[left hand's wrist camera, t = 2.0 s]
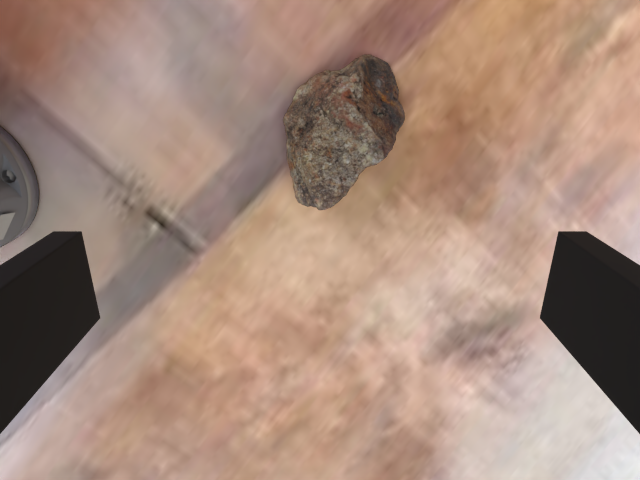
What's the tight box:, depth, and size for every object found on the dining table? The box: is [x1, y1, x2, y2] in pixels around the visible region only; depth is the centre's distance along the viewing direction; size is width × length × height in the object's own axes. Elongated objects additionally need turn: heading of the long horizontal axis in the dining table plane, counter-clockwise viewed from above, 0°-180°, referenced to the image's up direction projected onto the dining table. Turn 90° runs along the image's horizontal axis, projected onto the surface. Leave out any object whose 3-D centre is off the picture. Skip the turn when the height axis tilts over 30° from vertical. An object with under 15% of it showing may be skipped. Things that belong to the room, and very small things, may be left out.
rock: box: [283, 55, 405, 210], centre depth 41 cm, size 14×9×10 cm
